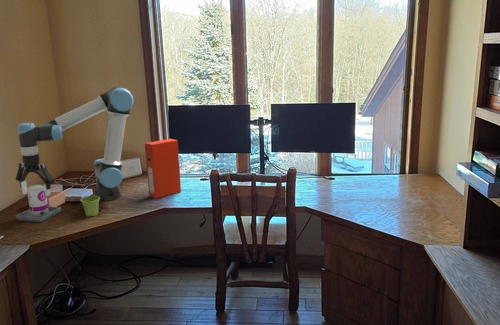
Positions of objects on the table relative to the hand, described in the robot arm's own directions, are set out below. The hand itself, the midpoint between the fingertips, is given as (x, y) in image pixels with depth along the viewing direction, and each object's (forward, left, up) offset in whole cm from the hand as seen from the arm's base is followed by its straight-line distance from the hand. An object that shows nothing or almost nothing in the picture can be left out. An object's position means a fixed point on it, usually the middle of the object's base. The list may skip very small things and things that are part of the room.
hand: (36, 194), depth 208 cm
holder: (+7, -15, -12) cm, 20 cm away
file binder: (-50, -45, -12) cm, 68 cm away
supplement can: (0, 0, -11) cm, 11 cm away
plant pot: (-26, -7, -12) cm, 29 cm away
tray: (0, 0, -12) cm, 12 cm away
